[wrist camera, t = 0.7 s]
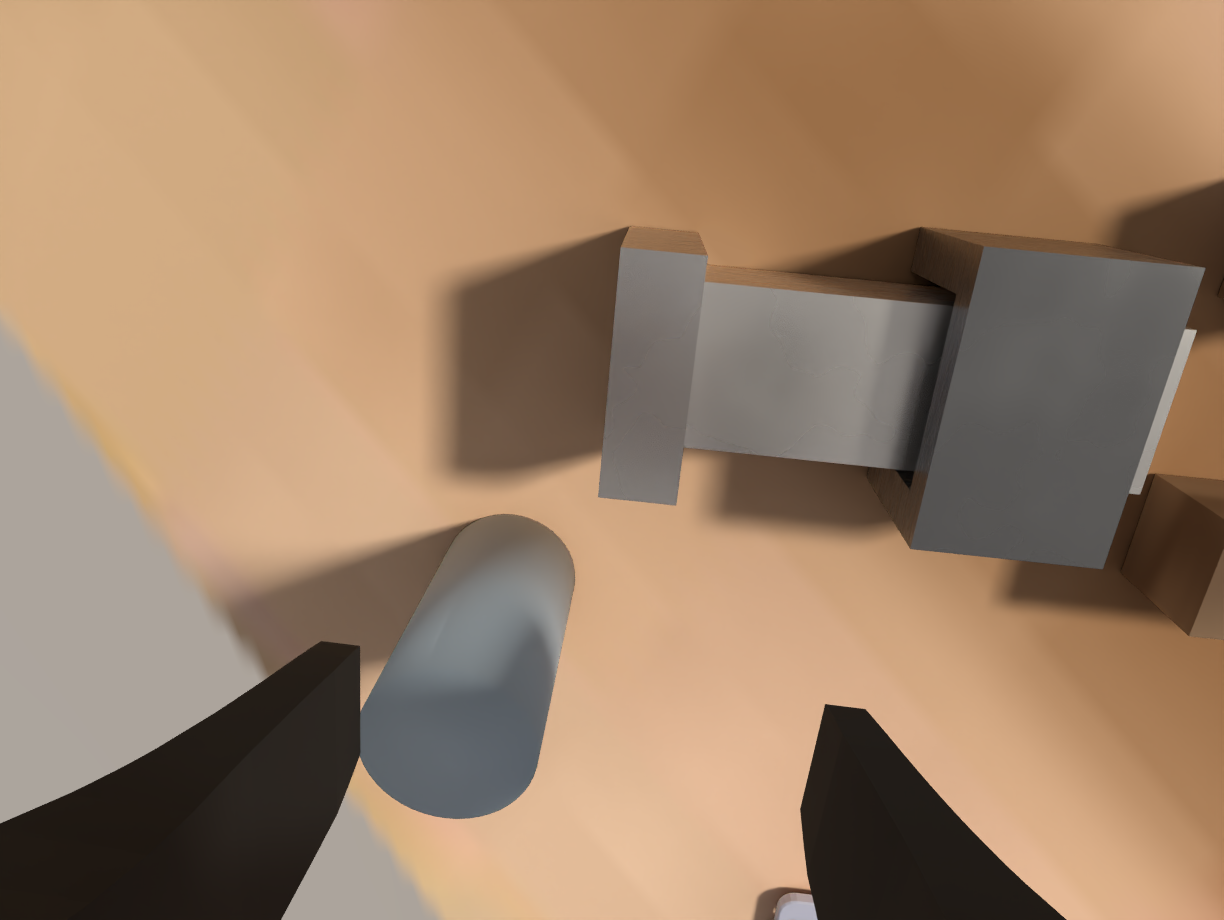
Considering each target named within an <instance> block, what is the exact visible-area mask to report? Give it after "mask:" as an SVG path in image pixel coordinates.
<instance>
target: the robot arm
mask: <svg viewBox="0 0 1224 920" xmlns="http://www.w3.org/2000/svg"><path fill="white" fill-rule="evenodd" d="M360 753H361V751H360V646H355V645H347V644H339V643H331V642H323V641H321V642H319V643H318V644H316V645H315V646H313V647H312V648H310V649H309V650H307V651H306V652H304V653H303V654H301V655H300V656H298V657H297V658H295V659H294V660H293V661H291V662H290V663H288V664H287V665H285V666H284V667H282V668H281V669H280V670H278V671H277V672H275V673H274V674H272V675H271V676H269V677H268V678H267V679H265V680H264V681H262V682H261V683H259V684H258V685H256V686H255V687H253V688H252V689H250V690H249V691H247V692H246V693H244V694H243V695H241V696H240V697H238V698H237V699H235V700H234V701H233V702H231V703H229V704H228V705H227V706H225V707H223V708H222V709H220V710H219V711H217V712H216V713H214V714H213V715H211V716H209V717H208V718H206V719H204V720H203V721H201V722H199V723H198V724H196V725H195V726H193V727H191V728H189V729H188V730H186V731H185V732H183V733H181V734H180V735H178V736H176V737H175V738H173V739H171V740H170V741H168V742H166V743H165V744H163V745H162V746H160V747H158V748H157V749H155V750H153V751H151V752H149V753H148V754H146V755H144V756H142V757H140V758H139V759H137V760H135V761H133V762H131V763H129V764H127V765H126V766H124V767H122V768H120V769H118V770H116V771H114V772H112V773H110V774H108V775H106V776H104V777H102V778H100V779H98V780H96V781H94V782H92V783H90V784H88V785H86V786H84V787H82V788H80V789H78V790H76V791H74V792H72V793H70V794H67V795H65V796H63V797H60V798H58V799H56V800H54V801H51V802H49V803H47V804H44V805H42V806H40V807H37V808H35V809H33V810H30V811H28V812H26V813H24V814H21V815H19V816H17V817H14V818H12V819H10V820H7V821H5V822H3V823H0V920H281V918H282V917H283V915H284V913H285V911H286V909H287V907H288V906H289V904H290V902H291V900H292V898H293V896H294V894H295V893H296V891H297V889H298V887H299V885H300V883H301V881H302V880H303V878H304V876H305V874H306V872H307V870H308V868H309V867H310V865H311V863H312V861H313V859H314V857H315V855H316V853H317V852H318V850H319V848H320V846H321V844H322V842H323V840H324V838H325V836H326V834H327V832H328V831H329V829H330V827H331V825H332V823H333V821H334V819H335V817H336V815H337V813H338V810H339V808H340V806H341V803H342V801H343V798H344V796H345V793H346V790H347V788H348V785H349V783H350V780H351V777H352V775H353V772H354V769H355V767H356V764H357V761H358V758H359V756H360ZM800 811H801V821H802V831H803V842H804V851H805V859H806V867H807V875H808V880H809V884H810V889H811V893H812V895H811V894H802V893H788V894H785V895H783V896H782V897H781V898H780V899H779V901H778V903H777V907H776V912H775V916H774V920H1066V919H1065V918H1064V917H1063V916H1062V915H1060V914H1059V913H1058V912H1057V911H1056V910H1055V909H1054V908H1053V907H1051V906H1050V905H1049V904H1048V903H1047V902H1046V901H1045V900H1043V899H1042V898H1041V897H1040V896H1039V895H1038V894H1037V893H1036V892H1034V891H1033V890H1032V889H1031V888H1030V887H1029V886H1028V885H1026V884H1025V883H1024V882H1023V881H1022V880H1021V879H1020V878H1019V877H1018V876H1017V875H1016V874H1015V873H1014V872H1013V871H1012V870H1010V869H1009V868H1008V867H1007V866H1006V865H1005V864H1004V863H1003V862H1002V861H1001V860H1000V859H999V858H998V857H997V856H996V855H995V854H994V853H993V852H992V851H991V850H990V849H989V848H988V847H987V846H986V845H985V844H984V843H983V842H982V841H981V840H980V839H979V838H978V837H977V836H976V835H975V834H974V833H973V832H972V830H971V829H970V828H969V827H968V826H967V825H966V824H965V823H964V822H963V821H962V820H961V819H960V818H959V817H958V816H957V815H956V813H955V812H954V811H953V810H952V809H951V808H950V807H949V806H948V805H947V804H946V802H945V801H944V800H943V799H942V798H941V797H940V796H939V795H938V794H937V792H936V791H935V790H934V789H933V788H932V787H931V786H930V785H929V783H928V782H927V781H926V780H925V779H924V778H923V776H922V775H921V774H920V773H919V772H918V771H917V769H916V768H915V767H914V766H913V765H912V764H911V762H910V761H909V760H908V759H907V758H906V757H905V755H904V754H903V753H902V752H901V751H900V749H899V748H898V747H897V746H896V745H895V743H894V742H893V741H892V740H891V739H890V737H889V736H888V735H887V734H886V733H885V732H884V730H883V729H882V728H881V727H880V726H879V724H878V723H877V722H876V721H875V720H874V719H873V717H872V716H871V715H870V714H869V713H868V712H867V711H866V709H859V708H851V707H843V706H835V705H827V704H825V708H824V712H823V716H822V720H821V724H820V729H819V733H818V737H817V741H816V745H815V750H814V754H813V758H812V762H811V766H810V771H809V775H808V779H807V783H806V787H805V792H804V796H803V800H802V804H801V808H800Z"/></svg>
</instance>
